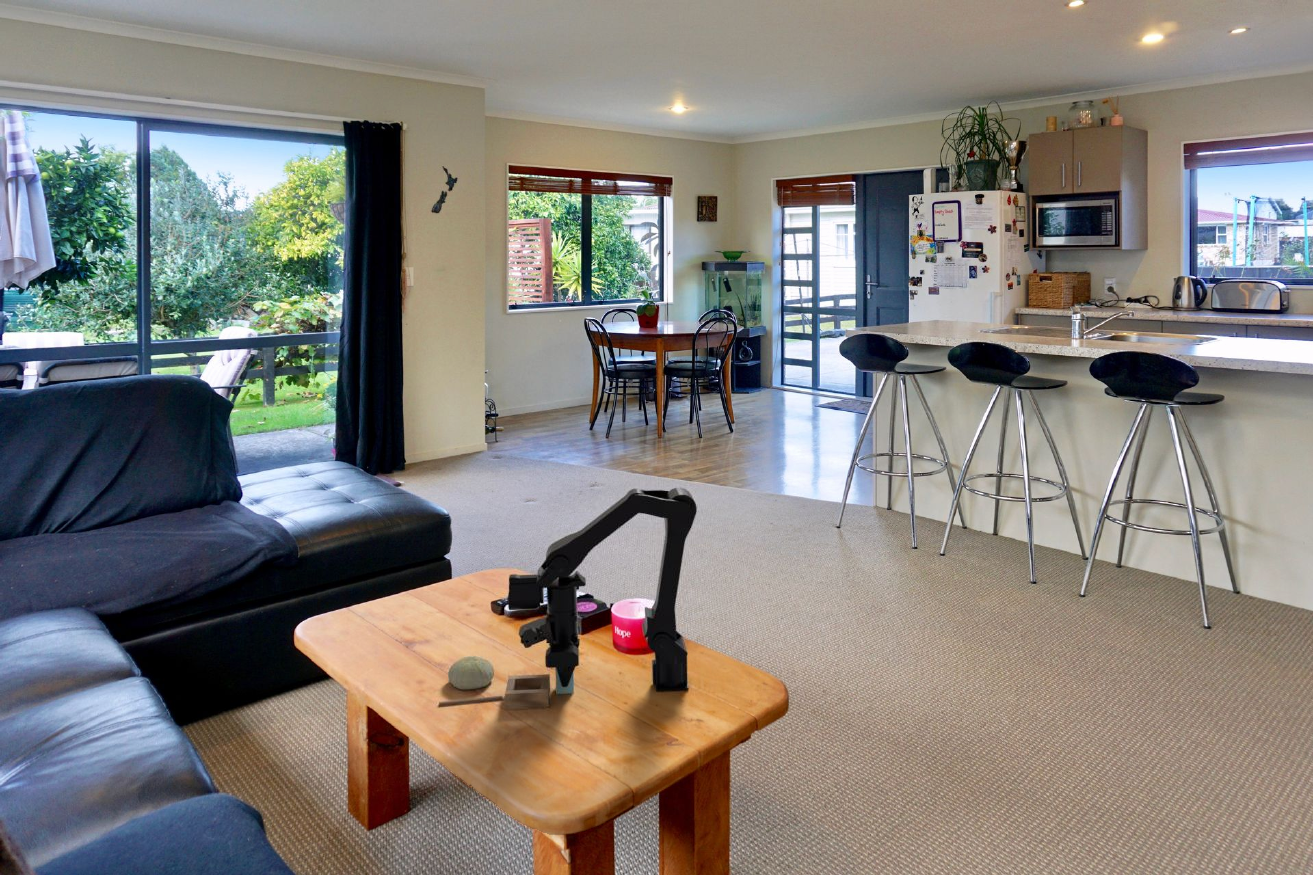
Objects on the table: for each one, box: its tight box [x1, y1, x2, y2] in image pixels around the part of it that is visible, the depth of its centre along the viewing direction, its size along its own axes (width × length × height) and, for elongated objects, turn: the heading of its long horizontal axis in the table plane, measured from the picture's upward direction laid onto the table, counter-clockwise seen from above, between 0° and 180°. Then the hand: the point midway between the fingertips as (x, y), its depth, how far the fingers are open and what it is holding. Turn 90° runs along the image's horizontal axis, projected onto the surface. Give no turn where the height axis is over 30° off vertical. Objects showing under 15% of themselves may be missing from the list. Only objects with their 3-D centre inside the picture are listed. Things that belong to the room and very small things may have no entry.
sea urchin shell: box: [447, 655, 495, 691], centre depth 189 cm, size 9×8×8 cm
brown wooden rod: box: [438, 695, 504, 707], centre depth 181 cm, size 12×1×1 cm, turn 101°
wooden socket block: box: [504, 673, 551, 711], centre depth 181 cm, size 8×8×3 cm
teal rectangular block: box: [554, 668, 575, 695], centre depth 184 cm, size 3×3×8 cm
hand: (565, 682), depth 185 cm, fingers closed on teal rectangular block, 3 cm apart
